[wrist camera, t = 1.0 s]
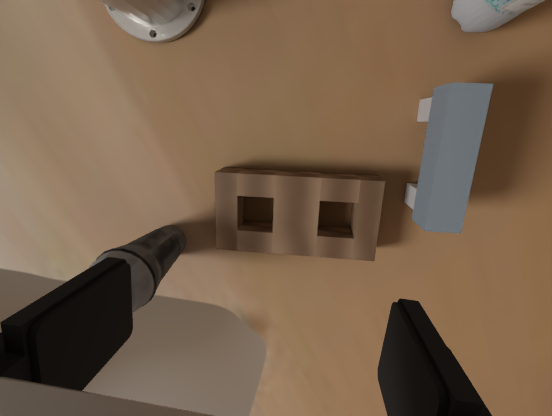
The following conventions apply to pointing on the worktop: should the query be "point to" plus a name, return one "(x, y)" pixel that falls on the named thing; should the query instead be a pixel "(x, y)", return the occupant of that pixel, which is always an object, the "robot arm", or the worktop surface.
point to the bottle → (488, 13)
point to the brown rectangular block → (298, 213)
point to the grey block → (448, 155)
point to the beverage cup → (148, 260)
